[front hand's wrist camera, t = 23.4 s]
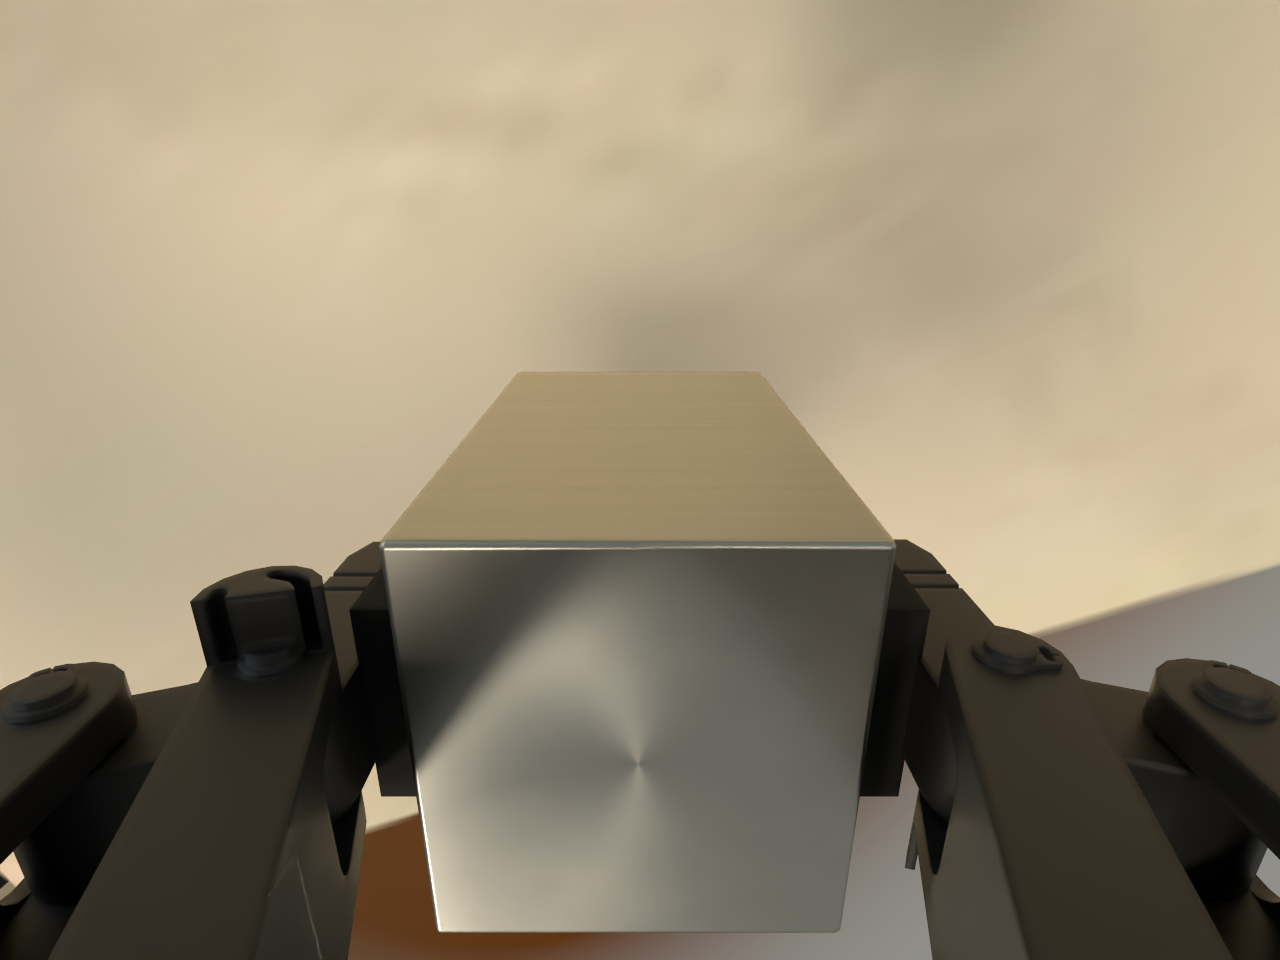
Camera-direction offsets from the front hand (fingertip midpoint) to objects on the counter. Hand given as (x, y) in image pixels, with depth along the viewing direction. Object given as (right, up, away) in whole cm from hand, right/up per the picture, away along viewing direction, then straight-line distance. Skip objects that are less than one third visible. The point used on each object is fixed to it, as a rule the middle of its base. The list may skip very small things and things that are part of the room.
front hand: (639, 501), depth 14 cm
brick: (0, 0, +1) cm, 1 cm away
